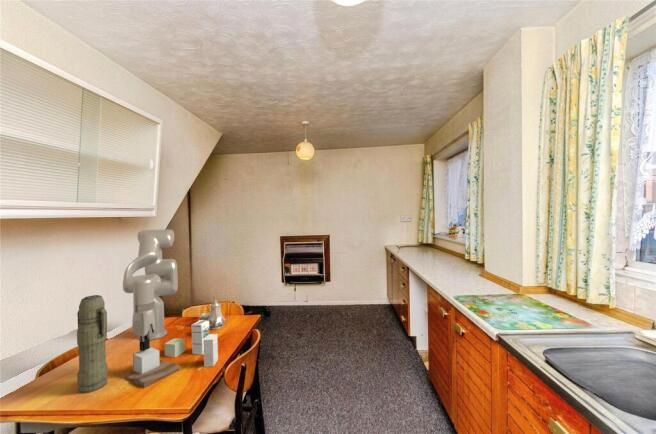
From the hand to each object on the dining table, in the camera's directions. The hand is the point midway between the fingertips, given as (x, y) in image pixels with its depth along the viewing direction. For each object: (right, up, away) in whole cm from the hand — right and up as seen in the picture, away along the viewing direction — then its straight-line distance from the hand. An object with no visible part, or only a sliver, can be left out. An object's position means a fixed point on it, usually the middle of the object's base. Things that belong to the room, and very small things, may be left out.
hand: (144, 349), depth 118 cm
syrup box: (+17, -9, +16) cm, 25 cm away
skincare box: (+27, -9, +4) cm, 29 cm away
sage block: (+5, -9, +14) cm, 18 cm away
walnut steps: (+6, -9, -3) cm, 11 cm away
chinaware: (+9, -10, +47) cm, 48 cm away
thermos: (-13, -9, -11) cm, 19 cm away
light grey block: (-2, -4, +1) cm, 5 cm away
